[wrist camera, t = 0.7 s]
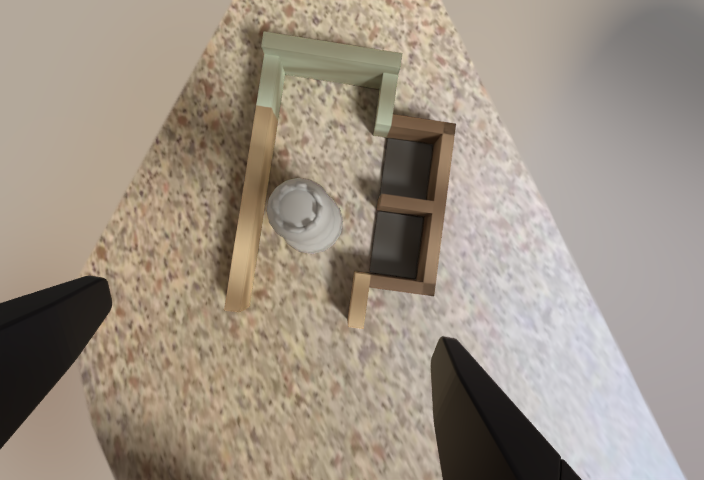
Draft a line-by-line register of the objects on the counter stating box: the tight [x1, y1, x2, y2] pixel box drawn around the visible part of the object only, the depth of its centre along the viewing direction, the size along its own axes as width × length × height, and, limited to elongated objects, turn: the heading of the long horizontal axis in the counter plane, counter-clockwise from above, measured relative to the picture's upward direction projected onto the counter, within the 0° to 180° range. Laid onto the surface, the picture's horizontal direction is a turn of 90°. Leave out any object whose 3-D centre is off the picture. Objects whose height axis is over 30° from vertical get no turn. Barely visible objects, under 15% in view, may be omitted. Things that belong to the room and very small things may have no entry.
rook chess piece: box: [267, 178, 343, 254], centre depth 19 cm, size 4×4×8 cm
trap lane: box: [224, 32, 456, 329], centre depth 22 cm, size 18×13×3 cm
